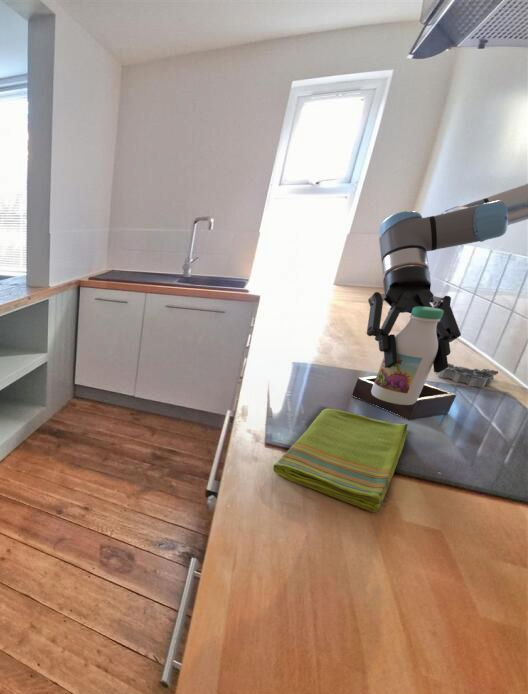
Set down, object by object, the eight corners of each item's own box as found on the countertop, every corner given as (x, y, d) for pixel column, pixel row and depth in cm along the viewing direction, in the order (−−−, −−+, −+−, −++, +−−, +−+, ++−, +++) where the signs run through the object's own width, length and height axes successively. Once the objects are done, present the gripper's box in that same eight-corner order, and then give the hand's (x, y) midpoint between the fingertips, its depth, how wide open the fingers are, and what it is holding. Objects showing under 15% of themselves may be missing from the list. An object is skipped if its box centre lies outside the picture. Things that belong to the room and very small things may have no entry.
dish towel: (269, 474, 75) (274, 459, 74) (321, 412, 97) (325, 400, 96) (377, 517, 65) (384, 500, 63) (407, 437, 87) (413, 423, 86)
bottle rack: (447, 413, 97) (456, 394, 95) (408, 420, 94) (417, 400, 92) (387, 391, 109) (394, 373, 107) (351, 396, 106) (357, 378, 104)
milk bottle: (394, 390, 94) (429, 303, 86) (425, 405, 87) (467, 312, 79) (361, 391, 94) (393, 304, 86) (390, 406, 87) (428, 313, 79)
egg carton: (494, 385, 112) (502, 371, 110) (477, 389, 110) (484, 375, 108) (447, 371, 121) (453, 358, 119) (430, 374, 119) (435, 361, 117)
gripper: (450, 287, 92) (465, 380, 85) (343, 282, 98) (347, 369, 90) (477, 266, 85) (495, 365, 78) (359, 262, 91) (366, 354, 84)
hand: (415, 367), depth 84 cm, fingers closed on milk bottle, 8 cm apart
